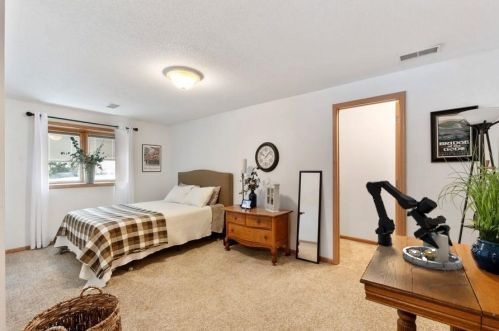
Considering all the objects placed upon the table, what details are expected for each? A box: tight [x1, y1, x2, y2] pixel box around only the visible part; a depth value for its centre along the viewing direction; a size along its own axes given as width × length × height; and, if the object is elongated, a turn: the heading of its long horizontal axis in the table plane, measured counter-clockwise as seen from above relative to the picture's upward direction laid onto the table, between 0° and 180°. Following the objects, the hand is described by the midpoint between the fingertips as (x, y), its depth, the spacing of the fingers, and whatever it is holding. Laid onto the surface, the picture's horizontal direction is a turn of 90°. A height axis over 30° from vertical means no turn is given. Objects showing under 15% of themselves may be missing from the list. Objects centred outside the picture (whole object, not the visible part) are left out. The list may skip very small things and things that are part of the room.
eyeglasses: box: [410, 265, 471, 292], centre depth 99 cm, size 16×15×5 cm
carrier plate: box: [402, 245, 464, 272], centre depth 119 cm, size 24×24×4 cm
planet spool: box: [435, 234, 450, 263], centre depth 113 cm, size 6×6×13 cm
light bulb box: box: [422, 231, 451, 252], centre depth 134 cm, size 11×7×11 cm, turn 25°
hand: (445, 247), depth 112 cm, fingers open, 9 cm apart
